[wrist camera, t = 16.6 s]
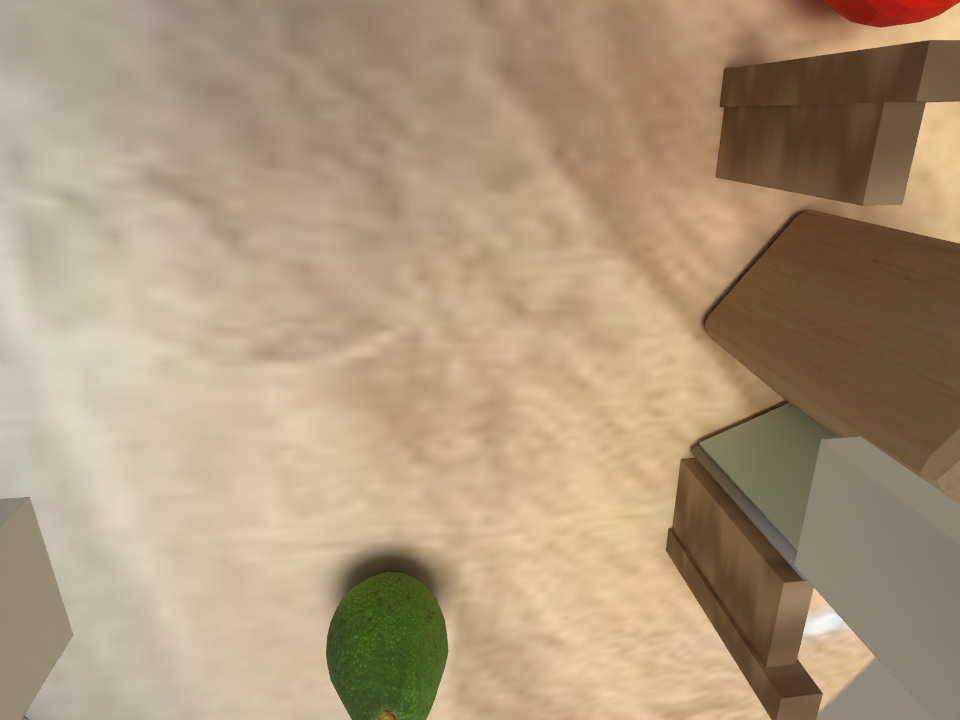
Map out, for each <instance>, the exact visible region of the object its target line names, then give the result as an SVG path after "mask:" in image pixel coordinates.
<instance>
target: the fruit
mask: <svg viewBox="0 0 960 720" xmlns="http://www.w3.org/2000/svg"><path fill="white" fill-rule="evenodd" d="M447 655H448V640H447V633H446V626H445V620H444V617H443V614H442V612H441V609H440V607H439V604H438V602H437V599H436V598H435V597H434V595H433V594H432V593H431V591H430V590H429V589H428V588H427V587H426V586H425V585H424V584H422V583H421V582H420V581H419V580H418V579H416V578H414V577H412V576H409V575H407V574H405V573H400V572H384V573H381V574H377V575H374V576H371V577H369V578H368V579H366V580H364V581H362V582H361V583H359V584H358V585H356V586H355V587H353V588H352V589H351V590H350V591H349V592H348V593H347V594H346V595H345V596H344V597H343V599H342V601H341V602H340V604H339V606H338V607H337V609H336V611H335V613H334V616H333V618H332V620H331V623H330V627H329V631H328V636H327V648H326V657H327V665H328V669H329V674H330V678H331V682H332V684H333V686H334V687H335V689H336V691H337V693H338V695H339V697H340V699H341V701H342V703H343V705H344V706H345V708H346V710H347V712H348V714H349V715H350V717H351V719H352V720H426V719H427V717H428V715H429V712H430V710H431V708H432V705H433V703H434V700H435V697H436V694H437V690H438V687H439V684H440V681H441V678H442V675H443V672H444V669H445V664H446V660H447Z"/></svg>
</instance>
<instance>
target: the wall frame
mask: <svg viewBox="0 0 960 720" xmlns="http://www.w3.org/2000/svg"><path fill="white" fill-rule="evenodd" d="M953 101H960V40H929V41H921V42H914V43H907V44H900V45H893V46H886V47H879V48H872V49H865V50H858V51H850V52H843V53H836V54H829V55H822V56H815V57H808V58H801V59H794V60H787V61H779V62H772V63H765V64H758V65H751V66H744V67H737V68H730V69H724V77H723V85H722V93H721V102H720V107H725V109H724V117H723V125H722V133H721V141H720V149H719V157H718V165H717V173H716V177H717V178H722V179H727V180H732V181H737V182H743V183H748V184H753V185H758V186H763V187H769V188H774V189H779V190H784V191H789V192H795V193H800V194H805V195H810V196H816V197H821V198H826V199H831V200H836V201H842V202H847V203H852V204H857V205H862V206H865V205H902V203H903V198H904V194H905V190H906V185H907V181H908V177H909V173H910V168H911V164H912V160H913V155H914V151H915V147H916V142H917V138H918V134H919V129H920V125H921V121H922V116H923V112H924V108H925V103H926V102H953ZM666 551H667V553H668V554H669V556H670V558H671V559H672V561H673V562H674V564H675V566H676V567H677V569H678V570H679V572H680V574H681V575H682V577H683V578H684V580H685V582H686V583H687V585H688V586H689V588H690V590H691V591H692V593H693V594H694V596H695V598H696V599H697V601H698V602H699V604H700V606H701V607H702V609H703V610H704V612H705V614H706V615H707V617H708V618H709V620H710V622H711V623H712V625H713V626H714V628H715V630H716V631H717V633H718V634H719V636H720V638H721V639H722V641H723V642H724V644H725V646H726V647H727V649H728V650H729V652H730V654H731V655H732V657H733V658H734V660H735V662H736V663H737V665H738V667H739V668H740V670H741V671H742V673H743V675H744V676H745V678H746V679H747V681H748V683H749V684H750V686H751V687H752V689H753V691H754V692H755V694H756V695H757V697H758V699H759V700H760V702H761V703H762V705H763V707H764V708H765V710H766V711H767V713H768V715H769V716H770V718H771V719H772V720H816V718H817V714H818V710H819V706H820V702H821V698H822V695H823V693H822V692H821V690H820V689H819V688H818V686H817V685H816V684H815V682H814V681H813V680H812V678H811V677H810V676H809V674H808V673H807V672H806V670H805V669H804V667H803V666H802V665H801V663H800V662H799V661H798V659H797V657H798V653H799V648H800V644H801V640H802V635H803V631H804V627H805V622H806V618H807V614H808V609H809V605H810V601H811V596H812V592H813V588H814V587H813V586H812V585H811V583H810V582H809V581H808V580H803V579H802V578H801V577H800V576H799V575H798V573H797V572H796V571H795V570H794V569H793V568H792V567H791V565H790V564H789V563H788V562H787V561H786V560H785V559H784V557H783V556H782V555H781V554H780V553H779V552H778V551H777V550H776V548H775V547H774V546H773V545H772V544H771V543H770V542H769V540H768V539H767V538H766V537H765V536H764V535H763V534H762V532H761V531H760V530H759V529H758V528H757V527H756V526H755V525H754V523H753V522H752V521H751V520H750V519H749V518H748V517H747V515H746V514H745V513H744V512H743V511H742V510H741V509H740V507H739V506H738V505H737V504H736V503H735V502H734V501H733V500H732V498H731V497H730V496H729V495H728V494H727V493H726V492H725V490H724V489H723V488H722V487H721V486H720V485H719V484H718V482H717V481H716V480H715V479H714V478H713V477H712V476H711V474H710V473H709V472H708V471H707V470H706V469H705V468H704V467H703V465H702V464H701V463H700V462H699V461H698V460H697V459H696V458H694V459H681V464H680V472H679V480H678V488H677V496H676V504H675V513H674V521H673V529H669V531H668V539H667V547H666Z"/></svg>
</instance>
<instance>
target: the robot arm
mask: <svg viewBox="0 0 960 720" xmlns="http://www.w3.org/2000/svg"><path fill="white" fill-rule="evenodd" d="M795 567H796V568H797V569H798V570H799V571H800V572H801V573H802V574H803V576H804V577H805V578H806V579H807V580H808V581H809V582H810V583H811V585H812V586H813V587H814V588H815V589H816V590H817V591H818V592H819V594H820V595H821V596H822V597H823V598H824V599H825V600H826V601H827V603H828V604H829V605H830V606H831V607H832V608H833V609H834V610H835V612H836V613H837V614H838V615H839V616H840V617H841V618H842V619H843V621H844V622H845V623H846V624H847V625H848V626H849V627H850V628H851V630H852V631H853V632H854V633H855V634H856V635H857V636H858V637H859V639H860V640H861V641H862V642H863V643H864V644H865V645H866V646H867V648H868V649H869V650H870V651H871V652H872V653H873V654H874V655H875V657H876V658H877V659H878V660H879V661H880V662H881V663H882V664H883V666H884V667H885V668H886V669H887V670H888V671H889V672H890V673H891V675H892V676H893V677H894V678H895V679H896V680H897V681H898V682H899V684H900V685H901V686H902V687H903V688H904V689H905V690H906V691H907V693H908V694H909V695H910V696H911V697H912V698H913V699H914V700H915V701H916V703H917V704H918V705H919V706H920V707H921V708H922V709H923V711H924V712H925V713H926V714H927V715H928V716H929V717H930V718H931V719H932V720H960V504H958V503H957V502H955V501H954V500H952V499H951V498H950V497H948V496H947V495H945V494H944V493H942V492H941V491H939V490H938V489H936V488H935V487H934V486H932V485H931V484H929V483H928V482H926V481H925V480H923V479H922V478H920V477H919V476H918V475H916V474H915V473H913V472H912V471H910V470H909V469H907V468H906V467H904V466H903V465H902V464H900V463H899V462H897V461H896V460H894V459H893V458H891V457H890V456H889V455H887V454H886V453H884V452H883V451H881V450H880V449H878V448H877V447H875V446H874V445H873V444H871V443H870V442H868V441H867V440H865V439H864V438H862V437H848V438H834V439H821V443H820V448H819V452H818V457H817V462H816V466H815V471H814V476H813V480H812V485H811V490H810V494H809V499H808V504H807V508H806V513H805V518H804V522H803V527H802V532H801V536H800V541H799V546H798V551H797V555H796V560H795ZM72 636H73V632H72V629H71V626H70V623H69V620H68V617H67V613H66V610H65V607H64V604H63V601H62V598H61V594H60V591H59V588H58V585H57V582H56V579H55V575H54V572H53V569H52V566H51V563H50V560H49V556H48V553H47V550H46V547H45V544H44V541H43V537H42V534H41V531H40V528H39V525H38V522H37V518H36V515H35V512H34V509H33V506H32V503H31V499H30V497H24V498H10V499H0V720H21V719H22V717H23V716H24V714H25V712H26V711H27V709H28V708H29V706H30V704H31V703H32V701H33V699H34V698H35V696H36V695H37V693H38V691H39V690H40V688H41V687H42V685H43V683H44V682H45V680H46V678H47V677H48V675H49V674H50V672H51V670H52V669H53V667H54V666H55V664H56V662H57V661H58V659H59V657H60V656H61V654H62V653H63V651H64V649H65V648H66V646H67V645H68V643H69V641H70V640H71V638H72Z"/></svg>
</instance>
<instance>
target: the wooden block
mask: <svg viewBox="0 0 960 720" xmlns="http://www.w3.org/2000/svg"><path fill="white" fill-rule="evenodd" d="M704 325H705V327H706V329H707V332H708V334H709V336H710V338H711V339H713V340H714V341H715V342H716V343H718V344H719V345H720V346H721V347H722V348H724V349H725V350H726V351H727V352H728V353H730V354H731V355H732V356H733V357H734V358H736V359H737V360H738V361H739V362H741V363H742V364H743V365H744V366H745V367H747V368H748V369H749V370H750V371H751V372H753V373H754V374H755V375H756V376H757V377H759V378H760V379H761V380H762V381H764V382H765V383H766V384H767V385H768V386H770V387H771V388H772V389H773V390H774V391H776V392H777V393H778V394H779V395H780V396H782V397H783V398H784V399H785V400H787V401H788V402H789V403H791V404H792V405H793V406H795V407H796V408H798V409H799V410H800V411H802V412H803V413H804V414H806V415H807V416H809V417H810V418H811V419H813V420H814V421H815V422H817V423H818V424H820V425H821V426H822V427H824V428H825V429H826V430H828V431H829V432H831V433H832V434H833V435H835V436H836V437H837V438H848V437H862V438H864V439H865V440H867V441H868V442H870V443H871V444H873V445H874V446H875V447H877V448H878V449H880V450H881V451H883V452H884V453H886V454H887V455H889V456H890V457H891V458H893V459H894V460H896V461H897V462H899V463H900V464H902V465H903V466H904V467H906V468H907V469H909V470H910V471H912V472H913V473H915V474H916V475H918V476H919V477H920V478H922V479H923V480H925V481H926V482H928V483H929V484H931V485H932V486H934V487H935V488H936V489H938V490H939V491H941V492H942V493H944V494H945V495H947V496H948V497H950V498H951V499H952V500H954V501H955V502H957V503H958V504H960V244H959V243H954V242H950V241H945V240H941V239H936V238H932V237H928V236H923V235H919V234H914V233H910V232H905V231H901V230H897V229H892V228H888V227H883V226H879V225H875V224H870V223H866V222H861V221H857V220H852V219H848V218H844V217H839V216H835V215H830V214H826V213H821V212H817V211H813V210H809V211H805V212H803V213H802V214H800V215H799V216H797V217H796V218H795V219H794V220H793V221H792V222H791V223H790V224H789V225H788V227H787V228H786V229H785V230H784V231H783V232H782V233H781V234H780V236H779V237H778V238H777V239H776V240H775V241H774V242H773V244H772V245H771V246H770V247H769V248H768V249H767V250H766V251H765V253H764V254H763V255H762V256H761V257H760V258H759V259H758V260H757V262H756V263H755V264H754V265H753V266H752V267H751V268H750V269H749V271H748V272H747V273H746V274H745V275H744V276H743V277H742V278H741V280H740V281H739V282H738V283H737V284H736V285H735V286H734V287H733V289H732V290H731V291H730V292H729V293H728V294H727V295H726V297H725V298H724V299H723V300H722V301H721V302H720V303H719V304H718V306H717V307H716V308H715V309H714V310H713V311H712V312H711V313H710V315H709V316H708V318H707V320H706V322H705V324H704Z"/></svg>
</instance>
